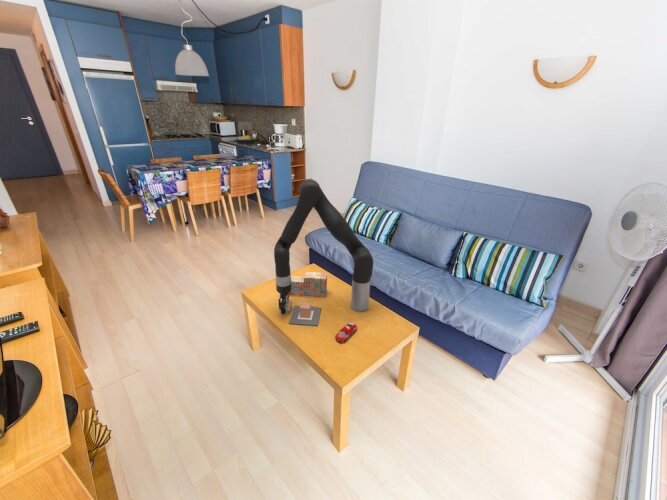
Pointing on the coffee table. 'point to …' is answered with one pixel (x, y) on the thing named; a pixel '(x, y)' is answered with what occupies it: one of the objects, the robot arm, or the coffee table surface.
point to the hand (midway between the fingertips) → (285, 308)
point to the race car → (346, 332)
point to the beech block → (287, 307)
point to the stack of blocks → (309, 285)
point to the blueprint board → (305, 321)
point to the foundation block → (305, 310)
